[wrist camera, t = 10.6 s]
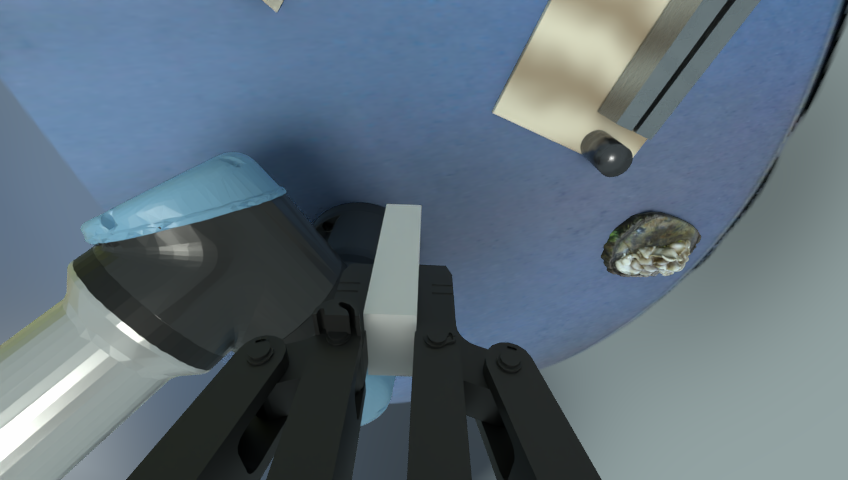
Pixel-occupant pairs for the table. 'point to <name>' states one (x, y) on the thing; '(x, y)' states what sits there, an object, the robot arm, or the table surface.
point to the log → (650, 245)
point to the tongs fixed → (669, 90)
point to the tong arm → (658, 59)
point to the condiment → (274, 4)
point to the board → (577, 68)
